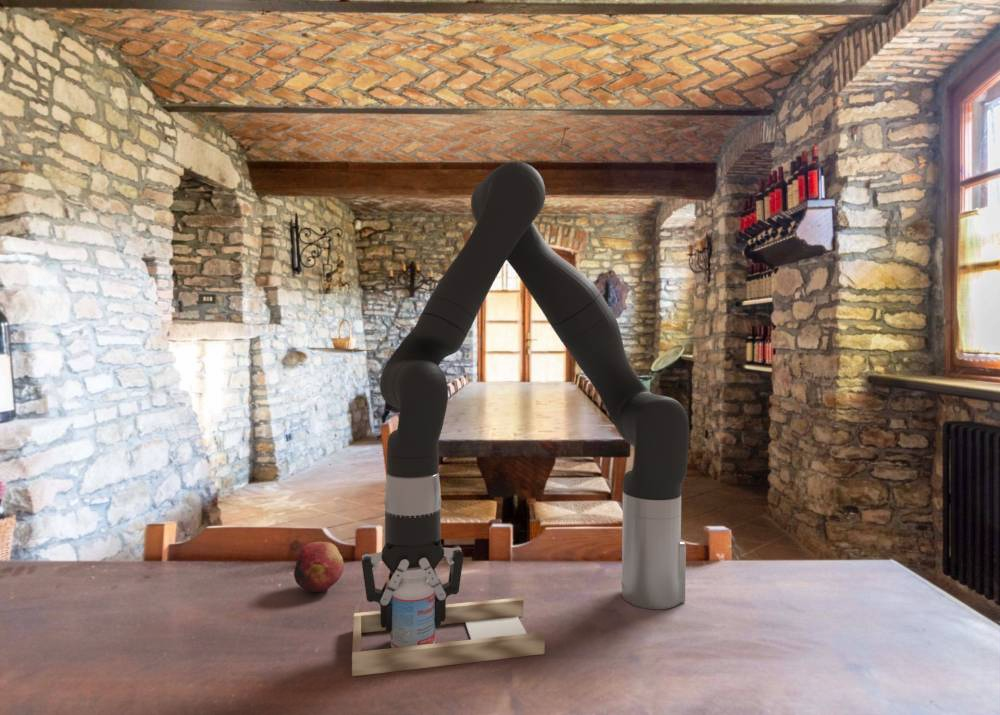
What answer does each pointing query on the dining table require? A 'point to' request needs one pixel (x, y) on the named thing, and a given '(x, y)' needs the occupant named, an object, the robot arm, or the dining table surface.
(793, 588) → the dining table surface
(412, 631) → the pill bottle
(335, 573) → the fruit
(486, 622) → the front pad
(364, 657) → the bay
